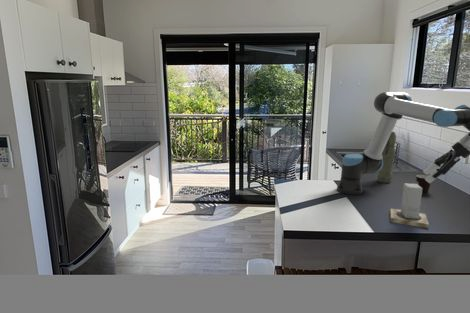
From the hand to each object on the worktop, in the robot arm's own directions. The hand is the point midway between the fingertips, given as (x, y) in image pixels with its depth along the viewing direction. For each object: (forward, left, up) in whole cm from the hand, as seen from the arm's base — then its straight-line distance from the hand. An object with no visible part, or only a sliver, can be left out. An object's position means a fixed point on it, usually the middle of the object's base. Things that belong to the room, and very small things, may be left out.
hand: (426, 177), depth 153 cm
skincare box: (-5, -3, -20) cm, 21 cm away
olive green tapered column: (-16, +65, -22) cm, 70 cm away
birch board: (-5, -3, -22) cm, 23 cm away
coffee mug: (+6, +52, -22) cm, 57 cm away
